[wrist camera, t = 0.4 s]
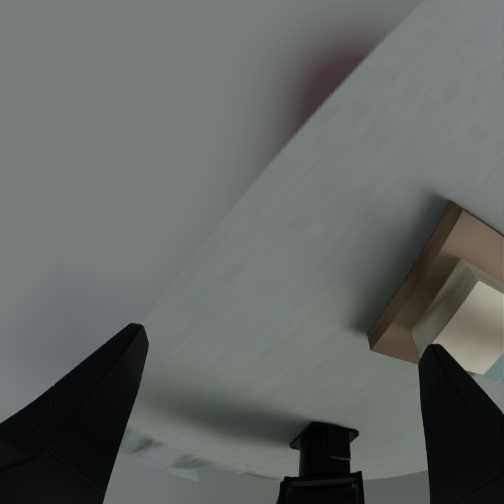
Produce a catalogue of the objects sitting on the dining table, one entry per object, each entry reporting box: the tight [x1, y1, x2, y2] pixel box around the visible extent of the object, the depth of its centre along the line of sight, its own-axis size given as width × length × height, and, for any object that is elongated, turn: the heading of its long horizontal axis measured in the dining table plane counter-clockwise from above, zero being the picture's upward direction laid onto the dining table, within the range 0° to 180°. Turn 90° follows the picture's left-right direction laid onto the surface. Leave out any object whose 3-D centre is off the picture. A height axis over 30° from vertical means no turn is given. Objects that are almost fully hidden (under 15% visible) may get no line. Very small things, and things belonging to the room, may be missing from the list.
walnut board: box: [367, 201, 504, 377], centre depth 22 cm, size 13×13×2 cm
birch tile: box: [411, 258, 504, 375], centre depth 20 cm, size 7×8×3 cm
